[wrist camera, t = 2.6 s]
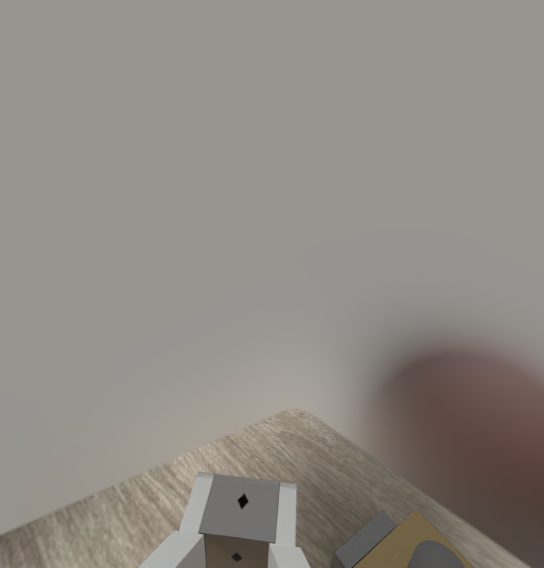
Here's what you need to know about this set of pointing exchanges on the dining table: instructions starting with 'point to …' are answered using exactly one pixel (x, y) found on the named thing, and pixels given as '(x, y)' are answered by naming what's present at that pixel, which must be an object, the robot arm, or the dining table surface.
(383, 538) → the lever valve base
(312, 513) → the dining table surface
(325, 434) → the dining table surface
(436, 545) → the lever
